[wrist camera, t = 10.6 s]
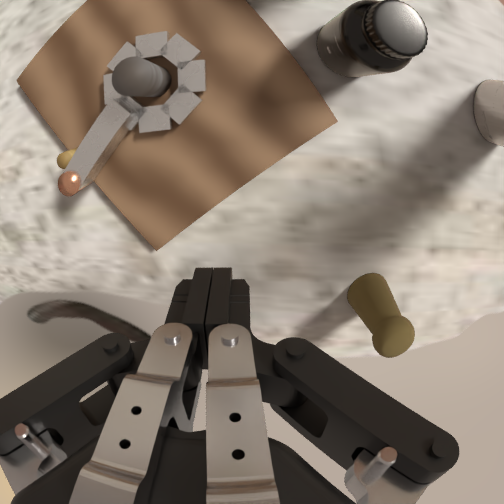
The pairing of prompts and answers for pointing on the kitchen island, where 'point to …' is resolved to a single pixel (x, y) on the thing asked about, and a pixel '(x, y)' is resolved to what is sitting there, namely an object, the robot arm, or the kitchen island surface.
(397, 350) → the cork
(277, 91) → the board
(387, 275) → the kitchen island surface
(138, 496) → the robot arm
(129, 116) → the segmented ring with handle
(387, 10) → the supplement bottle
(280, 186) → the kitchen island surface
